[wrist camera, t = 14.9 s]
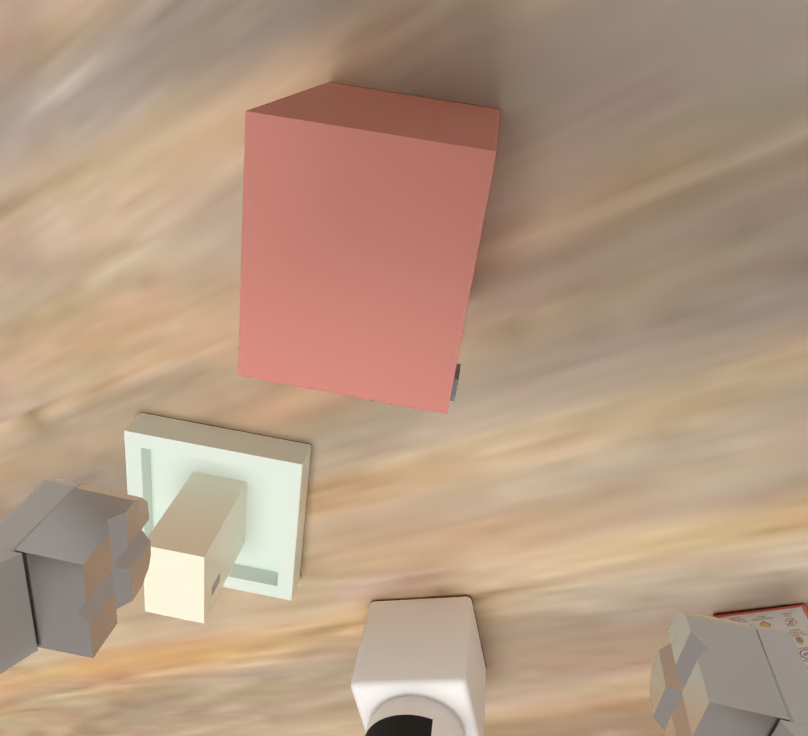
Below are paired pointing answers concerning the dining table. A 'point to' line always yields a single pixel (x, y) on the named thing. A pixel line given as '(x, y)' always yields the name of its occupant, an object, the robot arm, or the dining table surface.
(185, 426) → the dish
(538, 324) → the dining table surface
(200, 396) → the dining table surface
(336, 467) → the dining table surface
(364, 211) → the block
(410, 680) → the medicine bottle
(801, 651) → the cracker box
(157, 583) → the tall beige block
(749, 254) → the dining table surface
